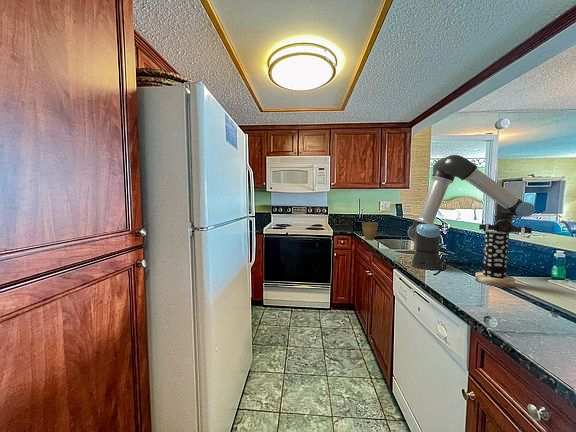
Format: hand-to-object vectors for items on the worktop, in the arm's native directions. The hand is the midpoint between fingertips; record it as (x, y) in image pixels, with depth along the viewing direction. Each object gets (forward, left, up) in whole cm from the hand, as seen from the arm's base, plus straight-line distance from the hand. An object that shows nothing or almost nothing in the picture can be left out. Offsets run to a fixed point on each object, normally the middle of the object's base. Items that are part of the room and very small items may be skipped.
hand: (504, 230), depth 124 cm
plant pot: (-116, -31, -23) cm, 123 cm away
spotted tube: (+8, -10, -20) cm, 24 cm away
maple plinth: (+8, -10, -23) cm, 27 cm away
